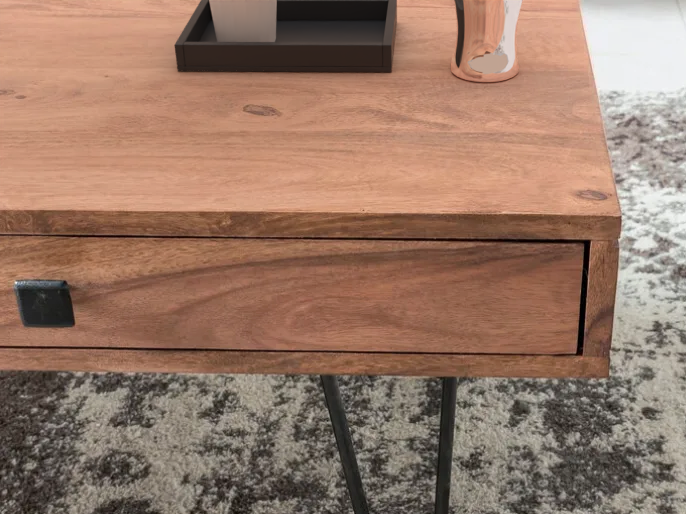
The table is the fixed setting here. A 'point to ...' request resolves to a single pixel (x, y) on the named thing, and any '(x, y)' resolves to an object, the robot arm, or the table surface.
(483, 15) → the beer glass
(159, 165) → the table surface
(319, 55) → the tray
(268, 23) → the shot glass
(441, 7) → the table surface
